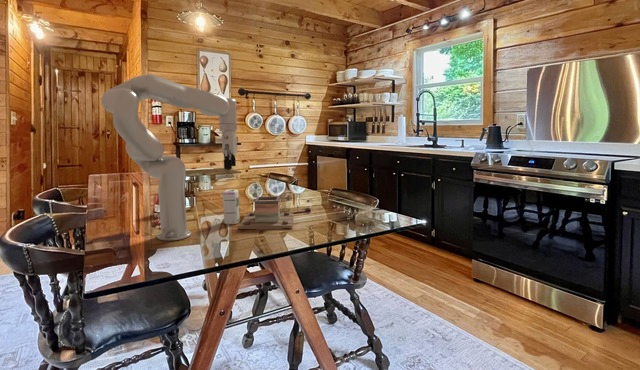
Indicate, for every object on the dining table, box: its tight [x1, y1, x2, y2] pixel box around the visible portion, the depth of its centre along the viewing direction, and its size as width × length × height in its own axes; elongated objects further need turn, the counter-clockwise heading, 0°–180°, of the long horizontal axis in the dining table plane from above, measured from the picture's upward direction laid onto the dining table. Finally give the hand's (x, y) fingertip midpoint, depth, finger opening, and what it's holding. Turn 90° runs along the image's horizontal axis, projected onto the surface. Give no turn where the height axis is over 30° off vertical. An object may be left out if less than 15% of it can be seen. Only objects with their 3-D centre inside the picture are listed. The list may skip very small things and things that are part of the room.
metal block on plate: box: [238, 196, 294, 230], centre depth 174 cm, size 22×22×11 cm
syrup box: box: [222, 188, 241, 225], centre depth 174 cm, size 6×6×14 cm
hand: (230, 167), depth 172 cm, fingers open, 9 cm apart
